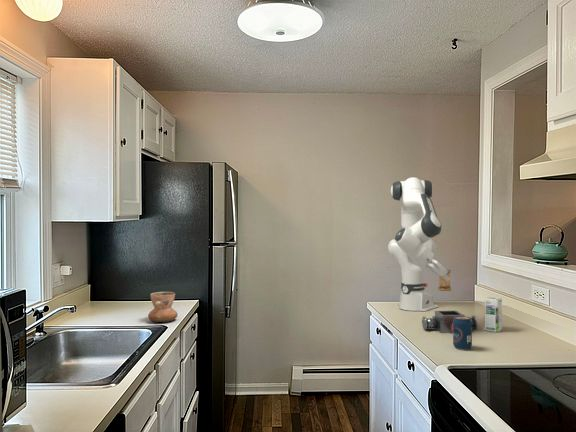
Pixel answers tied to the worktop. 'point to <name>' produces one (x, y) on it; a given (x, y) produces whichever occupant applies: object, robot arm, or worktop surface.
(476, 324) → the valve body
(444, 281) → the copper flared cylinder
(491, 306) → the syrup box
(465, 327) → the soda can
